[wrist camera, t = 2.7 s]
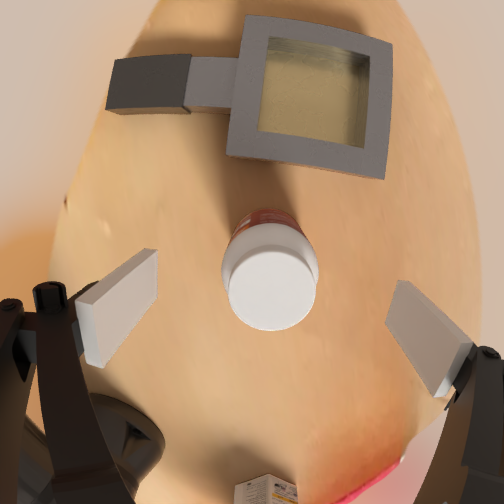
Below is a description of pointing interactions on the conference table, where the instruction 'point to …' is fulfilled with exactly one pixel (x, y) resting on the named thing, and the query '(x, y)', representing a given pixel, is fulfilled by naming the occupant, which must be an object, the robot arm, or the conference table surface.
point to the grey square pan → (278, 94)
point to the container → (266, 491)
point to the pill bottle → (270, 271)
